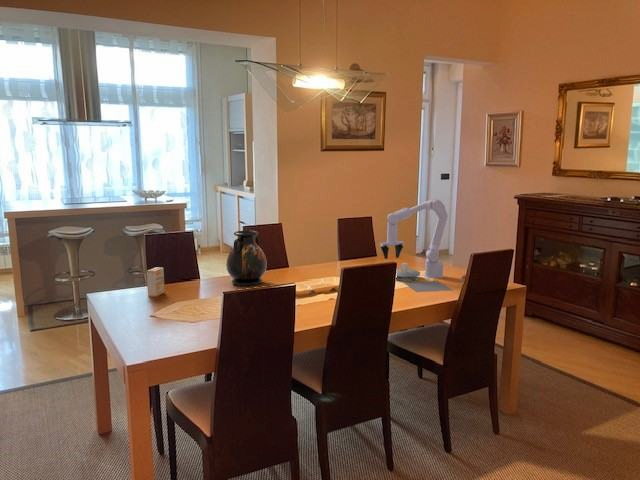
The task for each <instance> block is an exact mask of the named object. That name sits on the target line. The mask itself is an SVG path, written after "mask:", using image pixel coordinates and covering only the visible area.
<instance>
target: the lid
mask: <svg viewBox="0 0 640 480" xmlns="http://www.w3.org/2000/svg"><path fill="white" fill-rule="evenodd" d="M400 267H401V268H396V269H397V276H398V277H416V278H417V277H419V276H420V275H421V272H420V270H419V271H418V270H416V269H411V268H410V269H409V263H408V262H402V263H401V265H400Z"/></svg>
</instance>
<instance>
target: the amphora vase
mask: <svg viewBox="0 0 640 480" xmlns="http://www.w3.org/2000/svg"><path fill="white" fill-rule="evenodd" d="M233 235H234V236H236V237H237V238H235V240H234V241H233V246H232V249H231V250H230V251H229V253H228V255H227V258H226V265H225V266H226V270H227V271H226V272H227V273H228V274H229V276H230V277H231V278H232V280H231V283H232V285H233V286H236V285H237V287H243V286H248V287H255V286H254V285H256V286H258V284H259V285H260V284H262V283H263V278H262V277H263V276H264V275H265V273H266V271H267V266H268V265H267V264H268V262H267V258H266V255H265V253H264V250H263V249H262V248H261V247H260V246H259V245H260V243H259V242H260V241H259V238H258V235H259V232H258V231H255V230H239V231H235V232H234V233H233Z"/></svg>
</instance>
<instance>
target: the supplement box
mask: <svg viewBox="0 0 640 480" xmlns="http://www.w3.org/2000/svg"><path fill="white" fill-rule="evenodd" d="M164 269H165V268H164V267H162V266H161V267H160V266H159V267H156V266H155V267H152V268H151V269H148V270H146V276H147V277H146V278H147V279H146V280H147V296H148V297H151V298H152V297H154V298H155V297H156V298H157V297H159V296H160V295H162V294H164V293H165V272H164V271H165V270H164Z"/></svg>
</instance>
